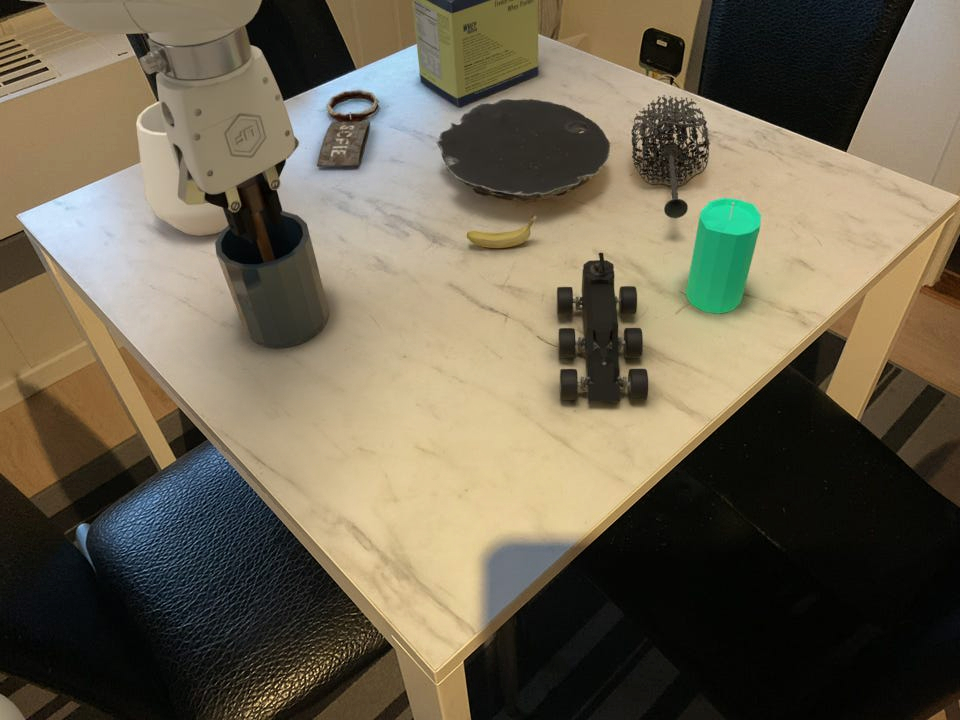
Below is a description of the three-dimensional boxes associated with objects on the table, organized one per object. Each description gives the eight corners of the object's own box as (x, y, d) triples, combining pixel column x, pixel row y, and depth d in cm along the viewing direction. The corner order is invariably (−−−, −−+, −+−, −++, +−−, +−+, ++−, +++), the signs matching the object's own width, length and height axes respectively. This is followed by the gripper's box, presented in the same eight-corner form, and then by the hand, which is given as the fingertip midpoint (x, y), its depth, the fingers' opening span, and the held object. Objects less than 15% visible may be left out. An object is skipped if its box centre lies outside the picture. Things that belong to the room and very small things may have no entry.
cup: (230, 171, 108) (198, 74, 98) (283, 212, 101) (255, 112, 91) (138, 214, 102) (95, 115, 92) (188, 261, 95) (147, 159, 85)
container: (248, 356, 83) (218, 276, 75) (241, 301, 90) (212, 221, 82) (335, 336, 85) (314, 255, 77) (322, 282, 91) (301, 202, 83)
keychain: (307, 170, 107) (304, 157, 106) (332, 99, 120) (330, 87, 119) (364, 169, 107) (362, 156, 105) (383, 98, 120) (381, 86, 118)
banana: (535, 238, 95) (535, 210, 92) (537, 247, 94) (537, 219, 91) (467, 243, 95) (465, 216, 92) (468, 253, 93) (466, 225, 91)
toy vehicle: (632, 302, 86) (640, 237, 80) (646, 408, 76) (657, 344, 70) (556, 303, 87) (558, 238, 80) (560, 408, 76) (562, 344, 70)
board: (601, 128, 111) (604, 94, 107) (615, 224, 96) (618, 188, 92) (444, 133, 112) (441, 99, 108) (433, 228, 97) (429, 193, 93)
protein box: (540, 74, 122) (540, -31, 111) (458, 109, 116) (449, 1, 105) (498, 51, 128) (495, -51, 117) (418, 83, 122) (406, -21, 111)
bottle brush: (267, 331, 85) (222, 198, 73) (263, 304, 88) (219, 172, 76) (308, 321, 86) (270, 188, 73) (303, 295, 89) (265, 163, 76)
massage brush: (630, 240, 93) (637, 172, 87) (627, 140, 108) (633, 74, 102) (711, 243, 92) (726, 174, 86) (698, 141, 107) (709, 75, 101)
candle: (716, 269, 89) (735, 178, 80) (754, 300, 85) (778, 208, 77) (673, 289, 87) (689, 198, 79) (710, 321, 84) (731, 229, 75)
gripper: (138, 101, 59) (211, 286, 73) (308, 25, 67) (346, 206, 80) (90, 71, 63) (168, 253, 77) (256, 3, 71) (301, 179, 84)
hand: (259, 227), depth 78 cm, fingers closed on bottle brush, 2 cm apart
